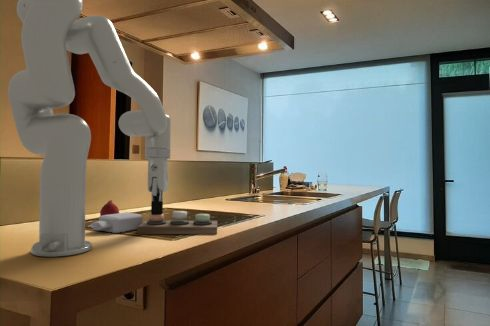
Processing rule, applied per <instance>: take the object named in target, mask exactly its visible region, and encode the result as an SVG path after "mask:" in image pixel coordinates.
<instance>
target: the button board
mask: <svg viewBox="0 0 490 326" xmlns="http://www.w3.org/2000/svg"><path fill="white" fill-rule="evenodd" d="M136 234H137V235H217V234H218V220H210V221H206V222H198V221H195V220H186V219H174V220H172V219H171V220H170V219H169V220H165V219H164V221H149V219H146V220H144V221H143V223H142V224H140V225H139V226H138V227H137V230H136Z"/></svg>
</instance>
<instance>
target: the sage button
mask: <svg viewBox="0 0 490 326" xmlns="http://www.w3.org/2000/svg"><path fill="white" fill-rule="evenodd" d="M194 215H195V219H194V221H198V222H206V221H211V215H210V214H209V213H197V214H194Z"/></svg>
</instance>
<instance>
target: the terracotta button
mask: <svg viewBox="0 0 490 326" xmlns="http://www.w3.org/2000/svg"><path fill="white" fill-rule="evenodd" d="M148 220H149V221H164V220H165V213H163V214H161V215H152V214H151V213H149V215H148Z"/></svg>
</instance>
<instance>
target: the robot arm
mask: <svg viewBox="0 0 490 326" xmlns="http://www.w3.org/2000/svg"><path fill="white" fill-rule="evenodd" d="M83 4H84V3H83V0H18V1H17V3H16V13H17V16H18V18H19V19H20V21H21V23H22V28H21V45H22V46H21V47H22V51H23V56H24V57H23V58H24V62H25V67H26V68H25V69H23V70H22V69H21V70H19V71H18V72H16V73H15V74H14V75H13V76H12V77H11V78H10V80H9V83H8V87H7V96H8V101H9V105H10V109H11V112H12V116H13V120H14V123H15V127H16V131H17V136H18V137H19V140H20V142H21V144H22V146H23V147H24V148H25V149H26V150H27V151H28V152H30V153H31V154H34V155H37V156H38V155H39V156H44V157H43V161H42V163H41V167H40V174H39V220H38V221H39V225H38V226H39V228H38V229H39V230H38V231H39V232H38V233H39V234H38V236H39V237H38V241H37V242H35V243H34V244H32V246H31V248H30V253H31V254H32V255H33V256H37V257H48V258H49V257H53V258H55V257H67V256H73V255H79V254H84V253H86V252H88V251H90V250H92V249H93V243H92V242H91V241H89V240H86V199H87V198H86V197H87V196H86V193H87V192H86V190H87V187H86V186H87V183H86V182H87V163H88V156H89V151H90V147H91V142H92V133H91V129H90V125H88V123H87V122H86V121H85V120H84V119H83V118H82V117H80V116H79V115H75V114H71V113H54V111H53V109H59V108H63V107H66V106H68V105H70V104H71V103H72V102H74V99H75V96H76V90H75V84H74V80H73V76H72V71H71V65H70V63H69V57H68V53H67V51H68V52H70V53H73V54H76V55H84V54H88V55H89V56H90V59H91V61H92V63H93V65H94V67H95V69H96V71H97V73H98V75H99V77H100V79H101V82H102V83H103V84H104V85H105V86H108V87H109V88H111V89H113V90H115V91H116V90H117V91H118V92H120V93H123V94H124V95H127V96H128V97H130V98H131V99H132V100H133V101H134V102H135V103H136V104H137V106H139V108H140V109H136V110H129V111H126V112H124V113H122V114H121V115H120V117H119V120H118V128H119V129H120V131H121V132H122V134H124V135H125V136H128V137H134V138H137V137H138V138H139V137H144V139H145V141H144V146H145V147H144V149H145V150H144V152H145V153H144V160H148V161H147V191H148V192H150V193H151V203H150V204H151V205H150V206H151V208H150V214H152V215H161V214H164V208H163V207H164V202H163V198H164V197H163V196H164V194H163V193H165V192H167V191H168V190H169V165H168V160H171V132H172V131H171V128H172V127H171V126H172V125H171V123H172V121H171V120H172V119H171V116H170V115H168V114H166V112H165V108H164V106H163V103H162V101H161V99H160V97H159V96H158V94H157V92H156V91H155V90H154V89H153V87H151V85H149V83H147V82H146V80H144V79H143V78H142V77H141V76H140V75H138V74H137V73H136V72H135V71H134V69H133V67H132V65H131V63H130V61H129V58H128V56H127V54H126V52H125V49H124V47H123V45H122V42H121V40H120V38H119V35H118V33H117V31H116V30H117V29H115V26H114V24H113V22H112V21H111V20H110V19H109V18H108V17H106V16H103V15H95V14H94V15H90V16H84V17H81V18H79V17H80V16H81V13H82V11H83Z"/></svg>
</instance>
